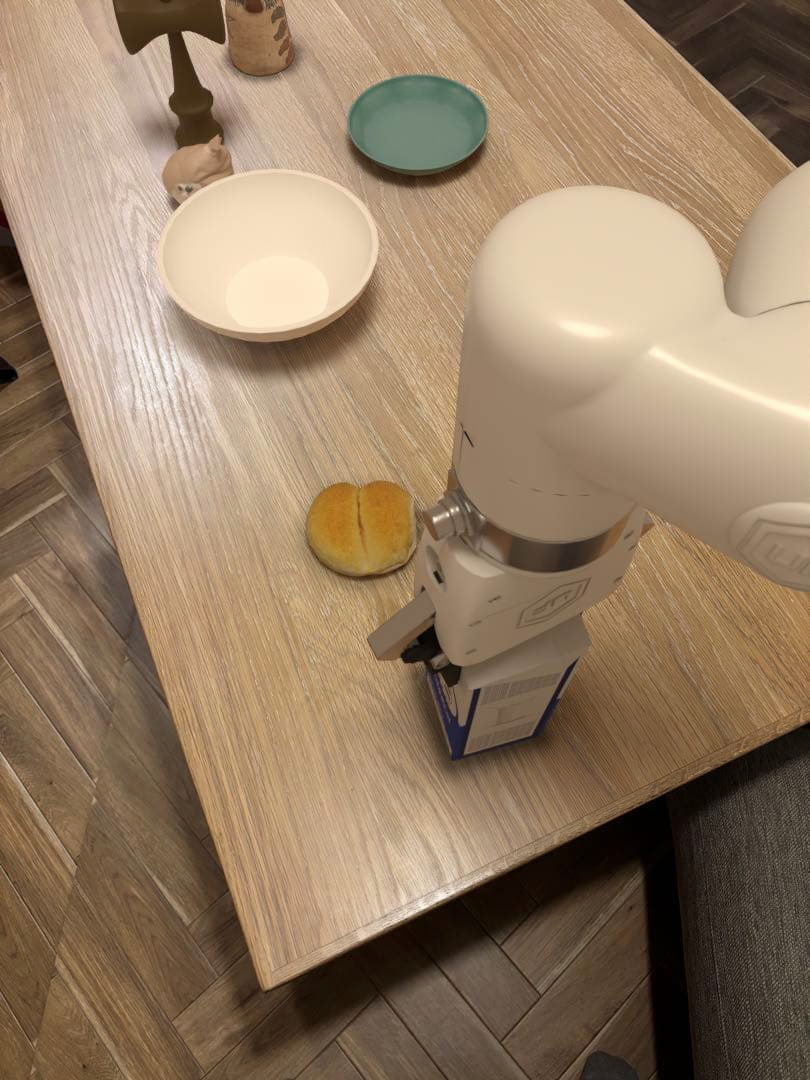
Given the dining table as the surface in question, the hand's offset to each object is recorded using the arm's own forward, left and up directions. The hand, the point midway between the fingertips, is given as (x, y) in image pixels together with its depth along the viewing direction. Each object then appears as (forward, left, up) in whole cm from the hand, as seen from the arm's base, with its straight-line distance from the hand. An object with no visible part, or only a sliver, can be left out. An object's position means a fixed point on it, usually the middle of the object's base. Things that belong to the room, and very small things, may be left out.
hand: (500, 633), depth 51 cm
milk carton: (0, 0, -15) cm, 15 cm away
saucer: (+23, -57, -15) cm, 63 cm away
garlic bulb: (+41, -42, -15) cm, 61 cm away
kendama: (+45, -50, -15) cm, 69 cm away
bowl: (+29, -32, -15) cm, 46 cm away
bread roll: (+13, -11, -15) cm, 23 cm away
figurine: (+44, -65, -15) cm, 80 cm away
